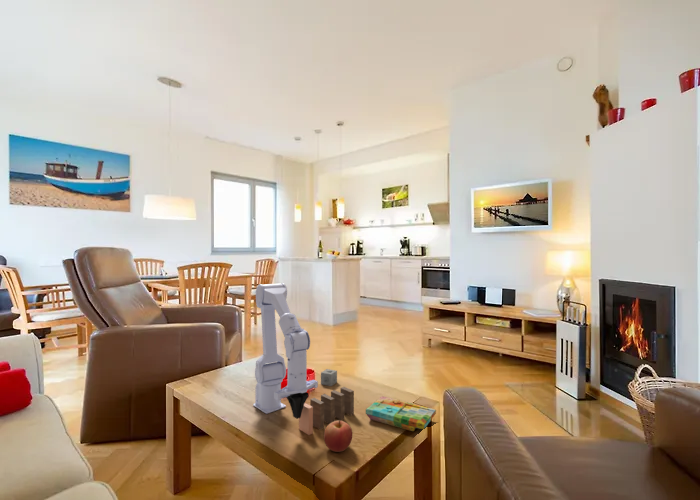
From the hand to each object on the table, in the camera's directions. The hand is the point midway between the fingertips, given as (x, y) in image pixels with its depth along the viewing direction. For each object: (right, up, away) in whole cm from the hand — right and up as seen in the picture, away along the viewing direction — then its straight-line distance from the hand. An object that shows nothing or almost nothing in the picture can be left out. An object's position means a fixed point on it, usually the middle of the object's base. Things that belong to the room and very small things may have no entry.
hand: (296, 417), depth 103 cm
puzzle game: (+33, -6, +9) cm, 35 cm away
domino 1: (+2, -6, +2) cm, 6 cm away
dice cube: (+7, -6, +41) cm, 42 cm away
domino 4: (+12, -6, +12) cm, 17 cm away
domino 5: (+15, -6, +15) cm, 22 cm away
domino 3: (+9, -6, +8) cm, 13 cm away
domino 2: (+6, -6, +5) cm, 9 cm away
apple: (+13, -6, -7) cm, 16 cm away
